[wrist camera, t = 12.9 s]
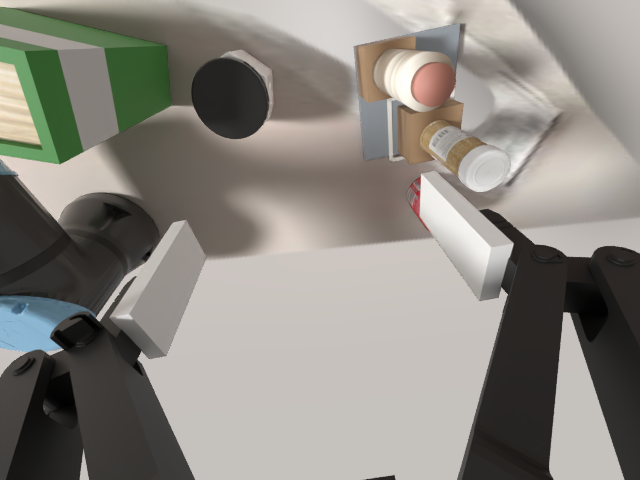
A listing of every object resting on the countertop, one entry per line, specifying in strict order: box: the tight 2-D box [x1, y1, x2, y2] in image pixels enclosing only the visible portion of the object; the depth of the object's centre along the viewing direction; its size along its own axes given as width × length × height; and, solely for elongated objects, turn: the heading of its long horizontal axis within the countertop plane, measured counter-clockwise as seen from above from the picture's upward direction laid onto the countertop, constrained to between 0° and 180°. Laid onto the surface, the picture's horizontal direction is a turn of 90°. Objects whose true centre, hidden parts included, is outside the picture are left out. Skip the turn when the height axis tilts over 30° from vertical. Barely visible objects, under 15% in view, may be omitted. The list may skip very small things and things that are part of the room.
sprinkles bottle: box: [420, 120, 511, 192], centre depth 34 cm, size 5×5×14 cm
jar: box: [191, 50, 274, 139], centre depth 36 cm, size 9×8×12 cm
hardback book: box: [0, 7, 171, 164], centre depth 28 cm, size 18×7×24 cm, turn 78°
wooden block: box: [397, 98, 463, 164], centre depth 42 cm, size 7×7×6 cm
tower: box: [355, 36, 456, 112], centre depth 31 cm, size 6×6×20 cm
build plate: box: [354, 23, 460, 162], centre depth 43 cm, size 14×17×1 cm
